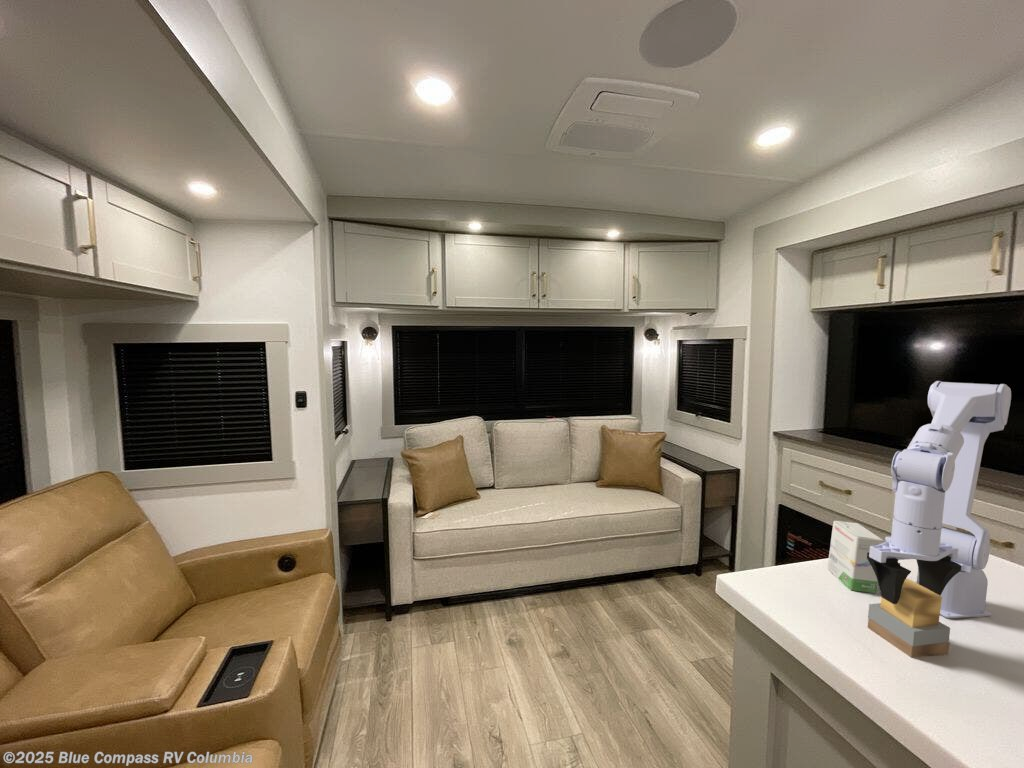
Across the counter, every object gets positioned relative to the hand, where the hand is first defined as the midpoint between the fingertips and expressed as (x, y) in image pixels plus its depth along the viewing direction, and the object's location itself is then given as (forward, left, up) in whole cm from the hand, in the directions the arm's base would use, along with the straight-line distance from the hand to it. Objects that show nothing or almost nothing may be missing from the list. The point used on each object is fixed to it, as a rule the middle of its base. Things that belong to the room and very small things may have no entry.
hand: (908, 599), depth 67 cm
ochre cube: (0, 0, -3) cm, 3 cm away
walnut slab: (0, 0, -8) cm, 8 cm away
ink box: (-8, -17, -8) cm, 20 cm away
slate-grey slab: (0, 0, -5) cm, 5 cm away
